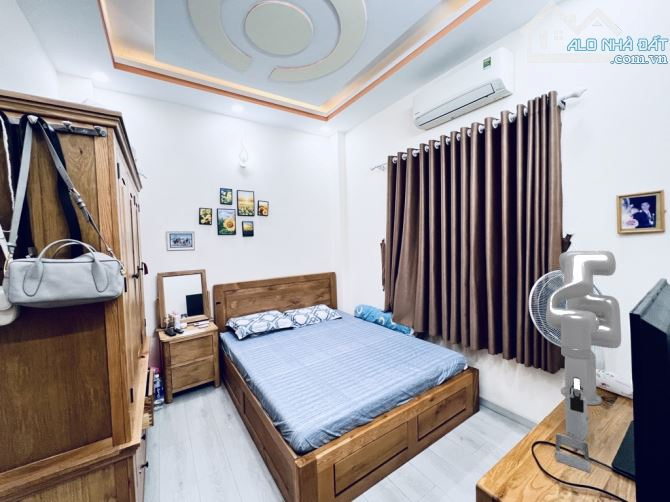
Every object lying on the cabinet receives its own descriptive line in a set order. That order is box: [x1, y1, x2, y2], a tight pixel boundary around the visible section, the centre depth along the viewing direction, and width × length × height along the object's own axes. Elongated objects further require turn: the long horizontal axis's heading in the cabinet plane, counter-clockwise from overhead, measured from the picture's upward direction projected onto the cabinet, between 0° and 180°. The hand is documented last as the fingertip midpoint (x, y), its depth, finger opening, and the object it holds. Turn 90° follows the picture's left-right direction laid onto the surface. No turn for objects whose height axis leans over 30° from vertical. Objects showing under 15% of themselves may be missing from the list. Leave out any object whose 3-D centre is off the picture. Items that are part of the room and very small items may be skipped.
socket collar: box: [555, 432, 591, 473], centre depth 85 cm, size 11×7×2 cm
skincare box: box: [564, 394, 589, 441], centre depth 94 cm, size 6×4×12 cm
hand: (576, 404), depth 93 cm, fingers open, 9 cm apart
